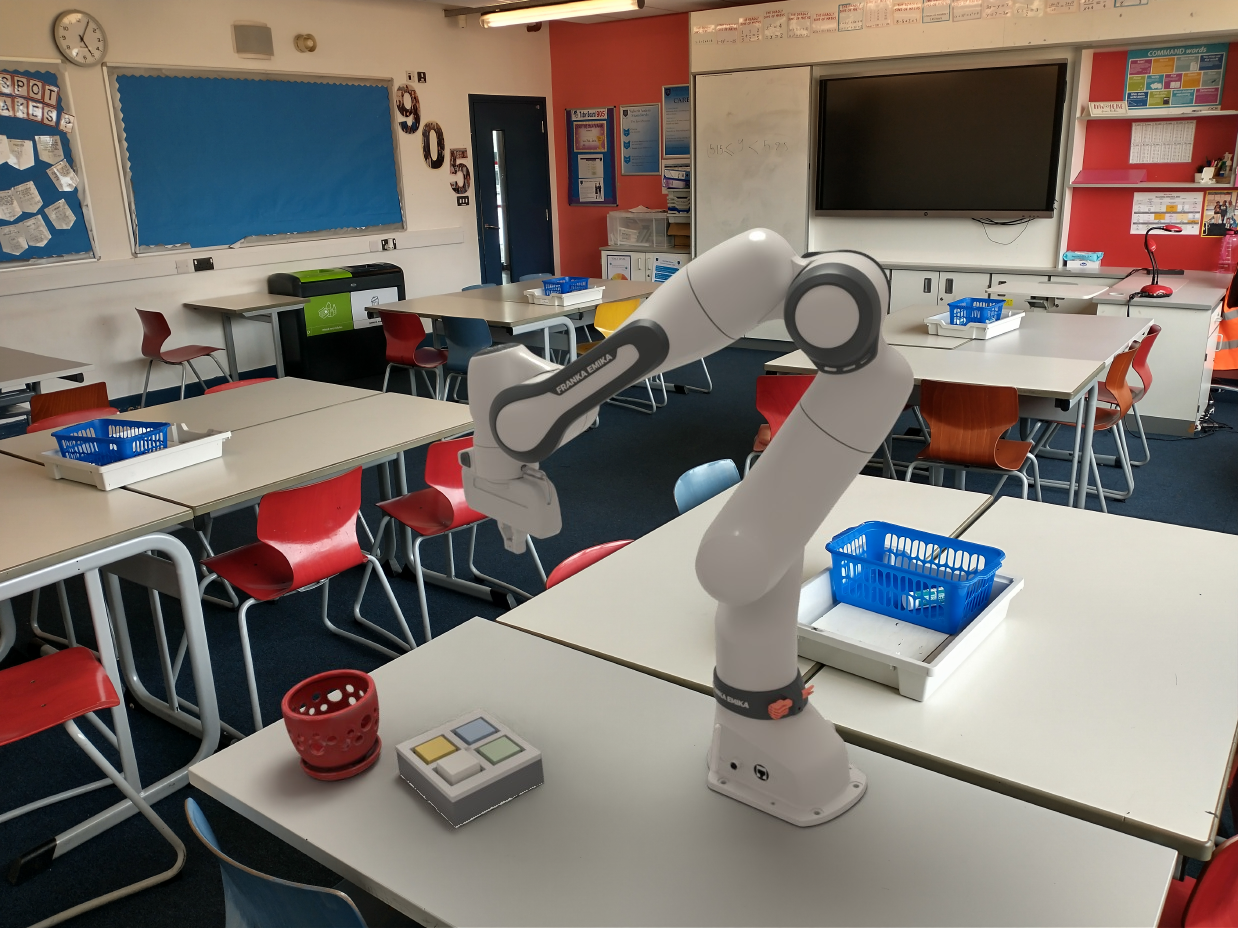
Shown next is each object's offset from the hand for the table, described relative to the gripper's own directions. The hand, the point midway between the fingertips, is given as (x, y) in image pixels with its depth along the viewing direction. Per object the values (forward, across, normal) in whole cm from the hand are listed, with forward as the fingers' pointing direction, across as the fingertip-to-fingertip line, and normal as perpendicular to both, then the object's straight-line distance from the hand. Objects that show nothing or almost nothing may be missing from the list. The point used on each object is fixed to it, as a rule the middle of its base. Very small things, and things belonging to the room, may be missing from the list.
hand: (515, 550), depth 137 cm
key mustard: (+27, -2, +17) cm, 32 cm away
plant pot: (+29, +12, +26) cm, 41 cm away
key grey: (+26, -8, +17) cm, 32 cm away
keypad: (+29, -5, +14) cm, 33 cm away
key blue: (+27, -2, +11) cm, 29 cm away
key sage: (+27, -8, +11) cm, 30 cm away
